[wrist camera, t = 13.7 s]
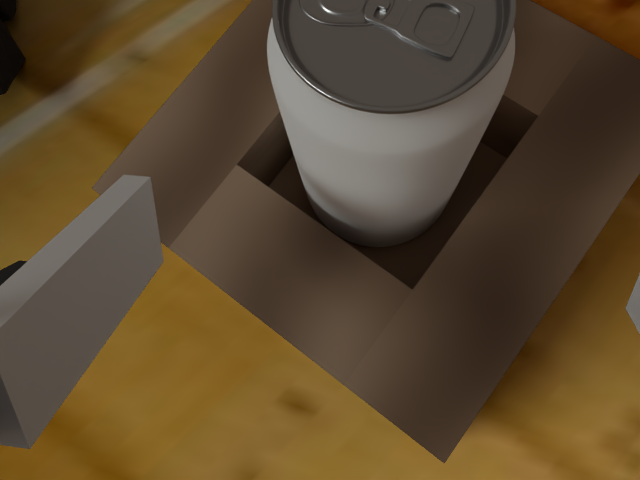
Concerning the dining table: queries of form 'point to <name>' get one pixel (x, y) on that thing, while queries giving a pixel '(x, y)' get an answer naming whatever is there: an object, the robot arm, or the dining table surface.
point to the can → (387, 104)
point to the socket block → (412, 256)
